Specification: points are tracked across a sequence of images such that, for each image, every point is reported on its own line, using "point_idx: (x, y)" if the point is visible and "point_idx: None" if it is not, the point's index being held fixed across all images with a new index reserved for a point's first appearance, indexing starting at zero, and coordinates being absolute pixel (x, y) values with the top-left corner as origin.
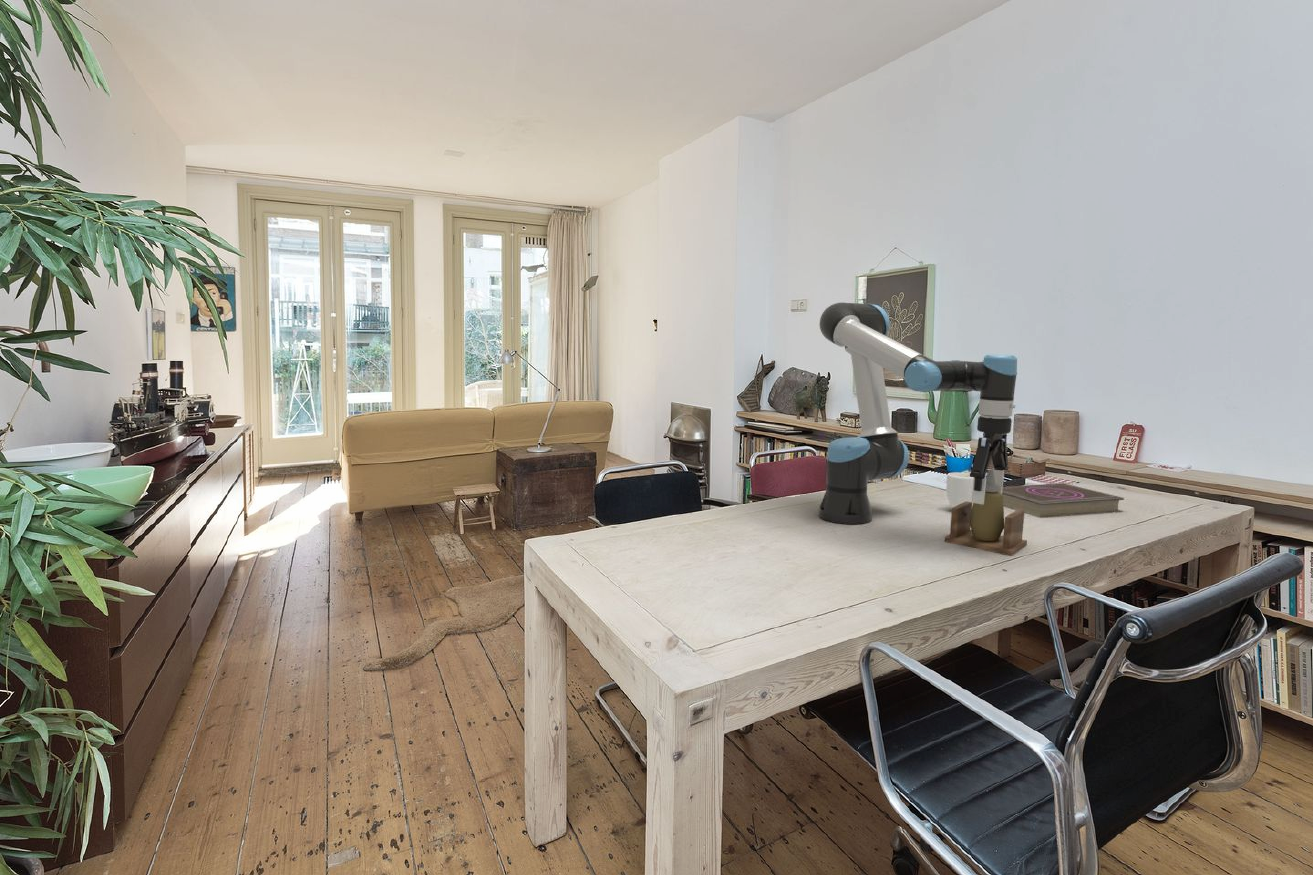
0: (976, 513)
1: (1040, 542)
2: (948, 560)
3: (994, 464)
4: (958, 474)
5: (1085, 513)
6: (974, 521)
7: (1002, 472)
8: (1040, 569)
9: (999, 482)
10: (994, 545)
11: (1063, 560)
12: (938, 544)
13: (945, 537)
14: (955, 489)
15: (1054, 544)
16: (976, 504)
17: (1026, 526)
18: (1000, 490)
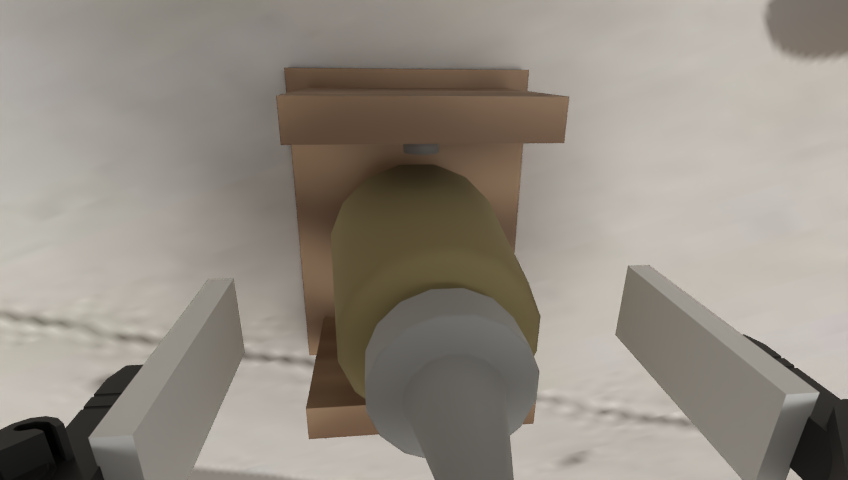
0: (341, 242)
1: (574, 354)
2: (11, 199)
3: (838, 468)
4: None
5: None
6: (340, 219)
7: (740, 471)
8: (228, 448)
9: (675, 379)
10: (331, 285)
11: (394, 460)
12: (213, 64)
13: (285, 71)
14: None
15: (578, 391)
16: (346, 257)
17: (797, 249)
18: (634, 350)
